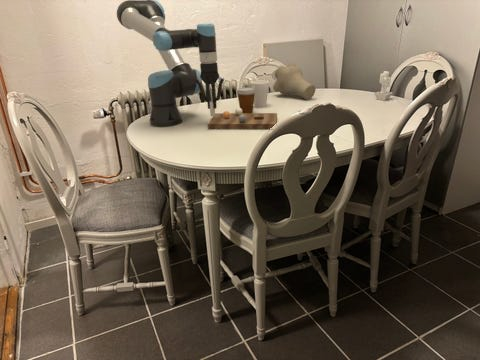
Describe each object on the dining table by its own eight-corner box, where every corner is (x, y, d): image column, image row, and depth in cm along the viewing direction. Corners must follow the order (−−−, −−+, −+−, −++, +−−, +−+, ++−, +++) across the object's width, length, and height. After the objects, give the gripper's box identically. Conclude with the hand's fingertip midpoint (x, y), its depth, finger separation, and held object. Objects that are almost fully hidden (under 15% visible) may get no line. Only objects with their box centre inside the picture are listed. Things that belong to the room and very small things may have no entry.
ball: (222, 119, 162) (221, 112, 160) (223, 117, 165) (223, 110, 163) (229, 119, 161) (229, 112, 160) (230, 117, 164) (230, 110, 163)
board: (208, 129, 157) (207, 123, 156) (215, 118, 173) (215, 113, 172) (275, 129, 153) (275, 123, 152) (277, 118, 169) (277, 113, 168)
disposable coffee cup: (254, 115, 176) (253, 90, 171) (235, 114, 178) (234, 90, 173) (257, 110, 184) (256, 87, 179) (239, 110, 186) (238, 87, 181)
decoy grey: (237, 123, 155) (237, 115, 154) (238, 120, 158) (238, 113, 157) (245, 123, 155) (245, 115, 153) (246, 120, 158) (246, 113, 157)
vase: (333, 75, 196) (300, 59, 213) (306, 73, 183) (273, 56, 201) (319, 111, 207) (289, 93, 225) (293, 112, 194) (263, 92, 212)
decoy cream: (234, 115, 167) (234, 108, 165) (236, 113, 170) (235, 106, 168) (242, 115, 166) (241, 108, 165) (242, 113, 169) (242, 106, 168)
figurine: (393, 98, 196) (397, 70, 189) (384, 101, 190) (388, 73, 184) (380, 97, 201) (384, 69, 194) (372, 100, 195) (375, 72, 189)
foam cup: (249, 107, 190) (248, 83, 184) (254, 103, 197) (254, 80, 192) (265, 108, 186) (265, 83, 181) (271, 104, 194) (271, 80, 189)
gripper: (191, 63, 151) (197, 117, 161) (221, 62, 149) (225, 117, 159) (196, 61, 158) (201, 113, 167) (224, 60, 156) (228, 113, 166)
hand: (212, 115), depth 163 cm, fingers closed
